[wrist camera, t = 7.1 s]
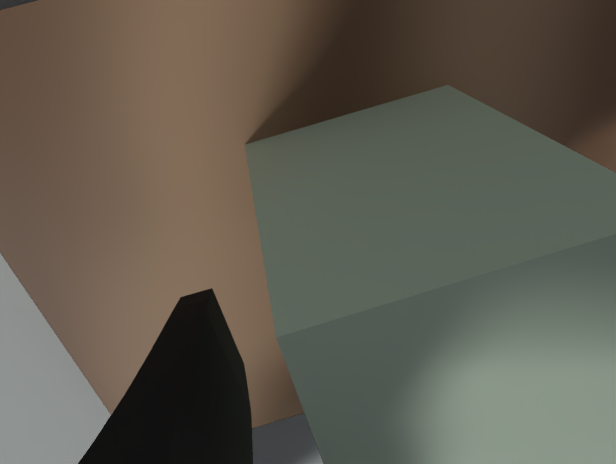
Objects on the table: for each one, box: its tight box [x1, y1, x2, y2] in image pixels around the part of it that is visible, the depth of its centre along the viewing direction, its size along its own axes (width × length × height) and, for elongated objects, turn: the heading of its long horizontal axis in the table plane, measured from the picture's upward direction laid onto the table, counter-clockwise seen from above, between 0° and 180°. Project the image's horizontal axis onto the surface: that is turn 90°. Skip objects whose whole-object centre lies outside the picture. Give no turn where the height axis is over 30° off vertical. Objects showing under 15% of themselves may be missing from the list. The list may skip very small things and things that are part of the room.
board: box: [0, 0, 616, 428], centre depth 12 cm, size 16×12×2 cm
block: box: [245, 85, 616, 464], centre depth 9 cm, size 4×4×6 cm
